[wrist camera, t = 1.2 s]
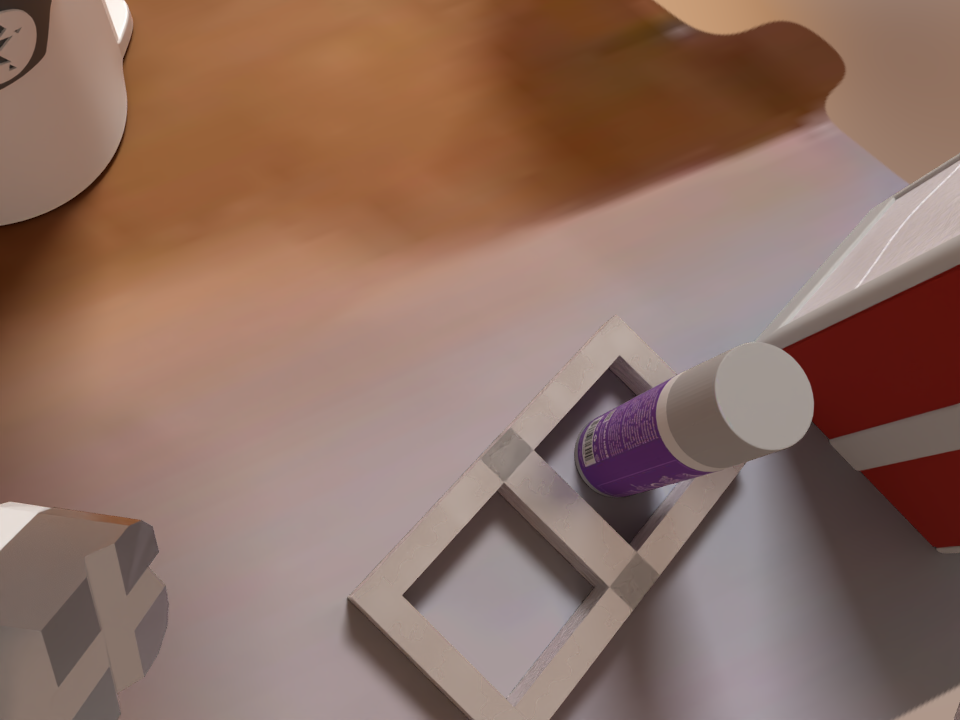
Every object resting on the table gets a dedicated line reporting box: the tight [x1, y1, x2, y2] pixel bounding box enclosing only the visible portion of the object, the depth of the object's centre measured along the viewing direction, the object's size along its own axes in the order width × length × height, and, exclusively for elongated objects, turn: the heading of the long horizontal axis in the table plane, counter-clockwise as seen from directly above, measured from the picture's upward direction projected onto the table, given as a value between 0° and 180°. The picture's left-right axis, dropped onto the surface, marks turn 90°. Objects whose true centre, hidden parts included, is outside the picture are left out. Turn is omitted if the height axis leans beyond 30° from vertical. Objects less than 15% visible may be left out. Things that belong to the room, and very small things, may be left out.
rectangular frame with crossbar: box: [347, 315, 746, 720], centre depth 44 cm, size 21×11×2 cm, turn 137°
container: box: [575, 342, 814, 498], centre depth 40 cm, size 5×5×15 cm
